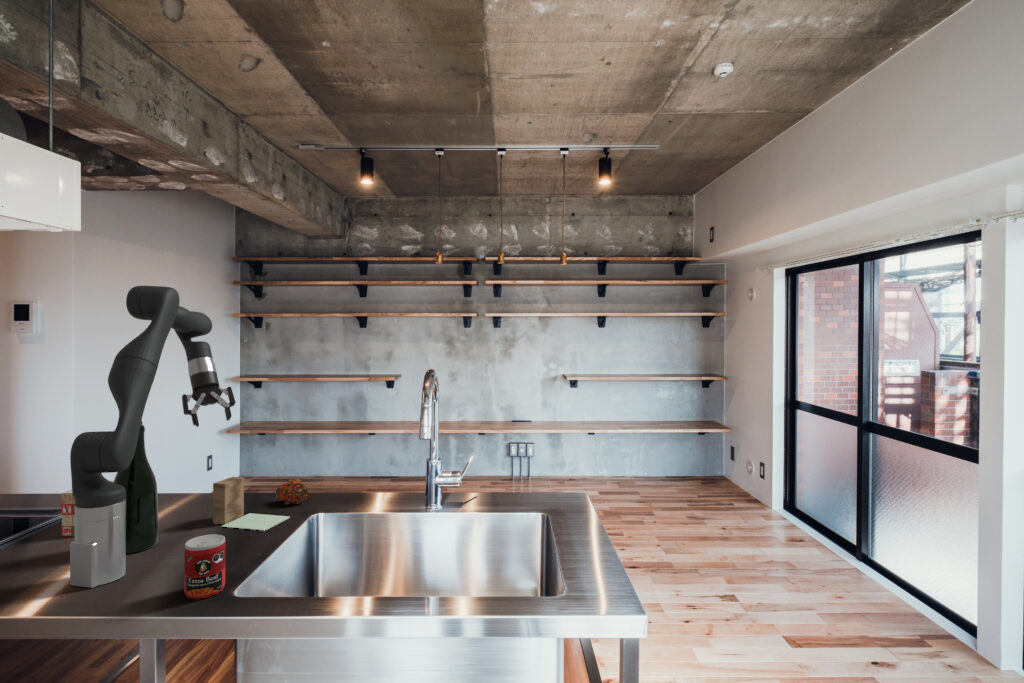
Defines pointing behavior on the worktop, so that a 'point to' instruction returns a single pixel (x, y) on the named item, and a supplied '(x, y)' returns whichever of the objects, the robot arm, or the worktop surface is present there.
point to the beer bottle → (140, 500)
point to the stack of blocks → (68, 513)
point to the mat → (256, 521)
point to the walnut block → (228, 500)
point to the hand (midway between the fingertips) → (213, 423)
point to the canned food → (204, 566)
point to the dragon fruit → (292, 487)
